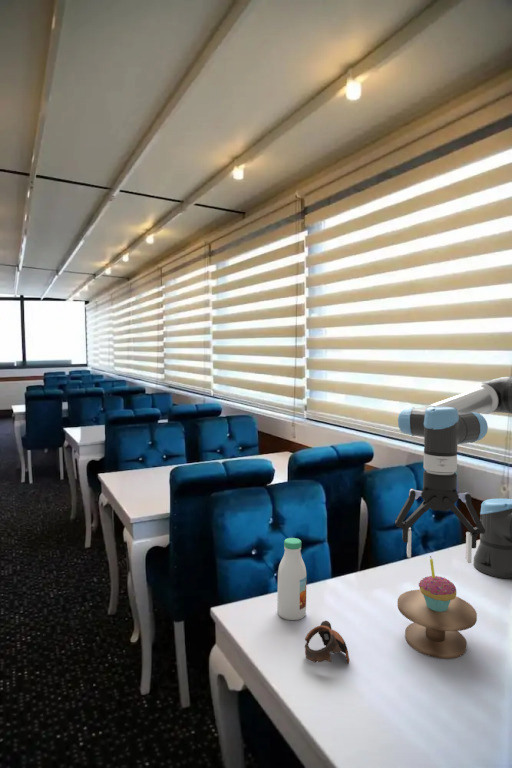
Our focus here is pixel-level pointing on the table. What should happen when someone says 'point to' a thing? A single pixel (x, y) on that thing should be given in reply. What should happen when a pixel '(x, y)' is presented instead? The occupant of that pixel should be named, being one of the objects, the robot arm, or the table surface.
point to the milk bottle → (292, 582)
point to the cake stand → (436, 625)
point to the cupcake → (437, 591)
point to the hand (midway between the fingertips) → (438, 558)
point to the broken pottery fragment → (325, 643)
